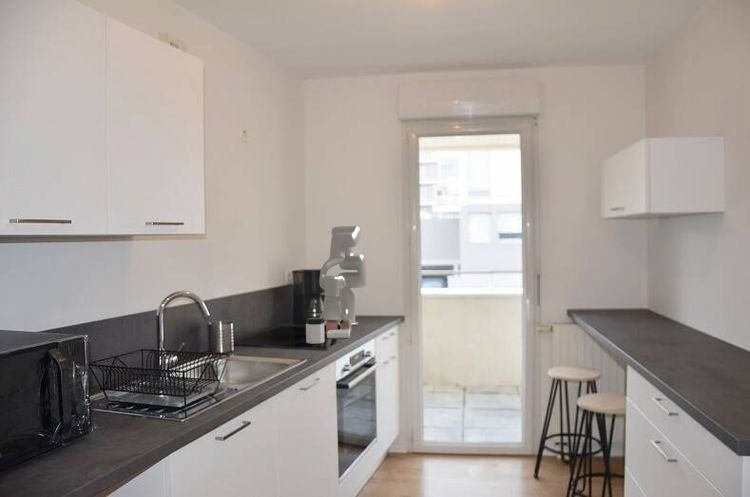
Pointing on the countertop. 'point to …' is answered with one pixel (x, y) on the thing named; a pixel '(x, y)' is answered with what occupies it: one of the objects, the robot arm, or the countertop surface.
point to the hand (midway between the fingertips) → (332, 331)
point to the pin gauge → (345, 314)
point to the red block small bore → (331, 326)
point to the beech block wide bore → (346, 325)
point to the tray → (338, 334)
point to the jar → (315, 330)
